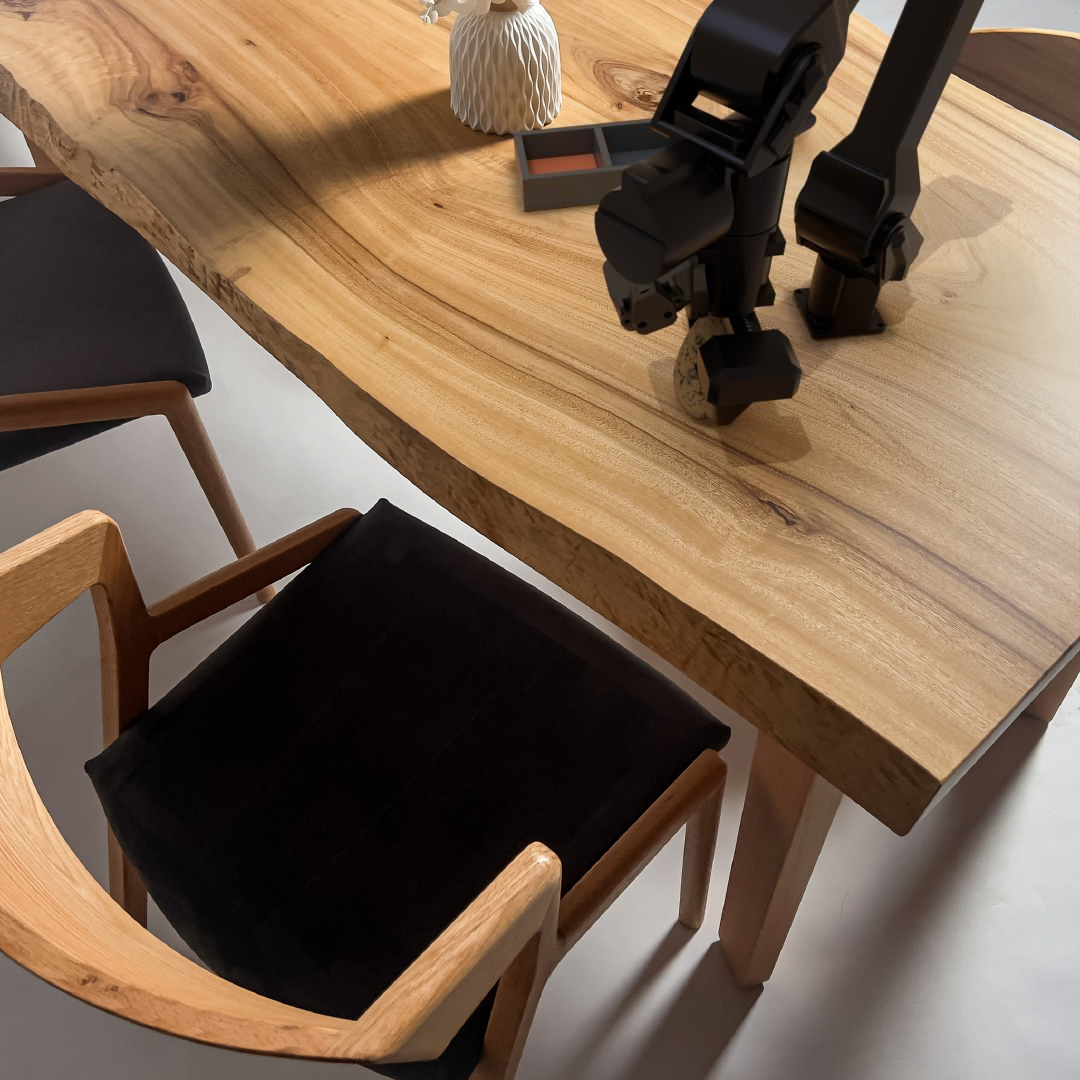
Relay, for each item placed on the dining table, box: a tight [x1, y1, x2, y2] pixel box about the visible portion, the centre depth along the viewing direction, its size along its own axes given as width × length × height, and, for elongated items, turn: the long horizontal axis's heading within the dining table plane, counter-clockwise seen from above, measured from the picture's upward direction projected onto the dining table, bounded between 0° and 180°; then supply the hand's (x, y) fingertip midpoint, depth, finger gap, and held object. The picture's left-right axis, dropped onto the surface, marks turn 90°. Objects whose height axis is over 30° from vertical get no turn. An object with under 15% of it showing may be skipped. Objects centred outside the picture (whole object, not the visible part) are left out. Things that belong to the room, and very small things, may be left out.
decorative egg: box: [672, 316, 725, 421], centre depth 70 cm, size 6×6×10 cm
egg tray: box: [513, 117, 668, 212], centre depth 94 cm, size 9×17×4 cm, turn 97°
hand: (710, 387), depth 72 cm, fingers open, 8 cm apart
